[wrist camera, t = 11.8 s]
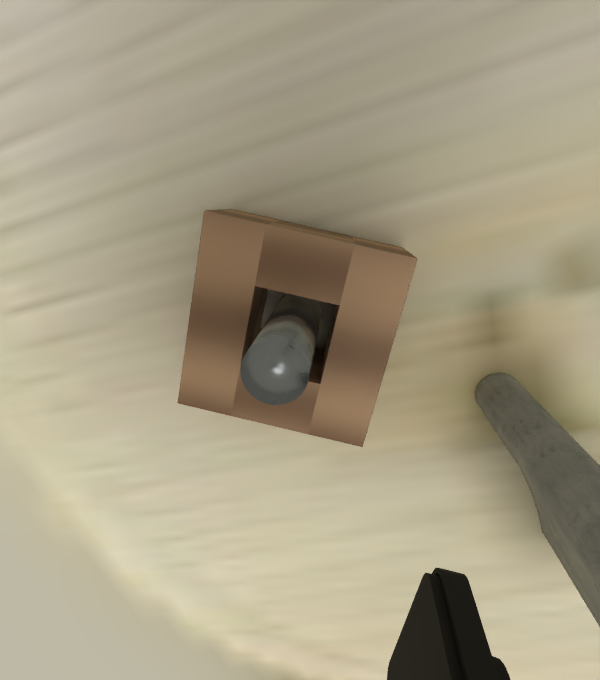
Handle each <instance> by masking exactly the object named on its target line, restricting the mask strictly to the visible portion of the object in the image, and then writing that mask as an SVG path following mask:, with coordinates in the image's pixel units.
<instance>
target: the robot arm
mask: <svg viewBox="0 0 600 680" xmlns="http://www.w3.org/2000/svg"><path fill="white" fill-rule="evenodd" d="M387 680H510V677H509V674H508V672H507V670H506V667H505V665H504V664H503V663H502V661H501V660H500V659H498V658H496V657H493V656H492V655H491V652H490V648H489V645H488V642H487V639H486V636H485V632H484V629H483V626H482V623H481V620H480V616H479V613H478V610H477V607H476V603H475V600H474V597H473V594H472V591H471V587H470V584H469V581H468V579H467V577H466V576H465V575H464V574H461V573H457V572H453V571H449V570H445V569H441V568H435V569H434V571H433V573H432V574H429V573H425V574H424V576H423V578H422V580H421V583H420V585H419V588H418V590H417V593H416V595H415V598H414V601H413V603H412V606H411V608H410V611H409V613H408V616H407V619H406V621H405V624H404V626H403V629H402V631H401V634H400V636H399V639H398V642H397V644H396V647H395V649H394V652H393V654H392V657H391V659H390V662H389V667H388V674H387Z"/></svg>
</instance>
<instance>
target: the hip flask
mask: <svg viewBox="0 0 600 680" xmlns="http://www.w3.org/2000/svg"><path fill="white" fill-rule="evenodd" d="M475 398H476V402H477V404H478V405H479V407H480V408H481V410H482V411H483V413H484V414H485V416H486V417H487V419H488V420H489V422H490V423H491V425H492V426H493V428H494V429H495V431H496V432H497V434H498V435H499V437H500V438H501V440H502V441H503V443H504V444H505V446H506V447H507V449H508V450H509V452H510V453H511V455H512V456H513V458H514V459H515V461H516V462H517V464H518V465H519V467H520V468H521V470H522V472H523V474H524V476H525V479H526V481H527V483H528V485H529V488H530V490H531V493H532V496H533V498H534V501H535V504H536V507H537V511H538V515H539V518H540V523H541V528H542V532H543V534H544V535H545V537H546V539H547V540H548V542H549V544H550V545H551V547H552V549H553V550H554V552H555V554H556V555H557V557H558V558H559V560H560V562H561V563H562V565H563V567H564V568H565V570H566V572H567V573H568V575H569V577H570V578H571V580H572V582H573V583H574V585H575V587H576V588H577V590H578V592H579V593H580V595H581V597H582V598H583V600H584V602H585V603H586V605H587V607H588V608H589V610H590V612H591V613H592V615H593V617H594V618H595V620H596V621H597V623H598V625H599V626H600V465H599V464H598V463H597V462H596V461H595V460H594V459H593V458H592V457H591V456H590V455H589V454H588V453H587V452H586V451H585V450H584V449H583V448H582V447H581V446H580V445H579V444H578V443H577V442H576V441H575V440H574V439H573V438H572V437H571V436H570V435H569V434H568V432H567V431H566V430H565V429H564V428H563V427H562V426H561V425H560V424H559V423H558V422H557V421H556V420H555V419H554V418H553V417H552V416H551V415H550V414H549V413H548V412H547V411H546V410H545V409H544V408H543V407H542V406H541V405H540V404H539V403H538V402H537V401H536V400H535V399H534V398H533V397H532V396H531V394H530V393H529V392H528V391H527V390H526V389H525V388H524V387H523V386H522V385H521V384H520V383H519V382H518V381H517V380H516V379H515V378H514V377H512V376H511V375H508V374H505V373H495V374H491V375H488V376H487V377H485V378H484V379H482V380H481V381H480V383H479V384H478V386H477V388H476V391H475Z"/></svg>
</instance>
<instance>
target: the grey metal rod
mask: <svg viewBox="0 0 600 680" xmlns="http://www.w3.org/2000/svg"><path fill="white" fill-rule="evenodd" d="M320 320H321V306H320V304H319V302H318V300H314V299H309V298H305V297H301V296H296V295H292V294H287V295H285V296H284V297H283V298H282V299H281V301H280V302H279V304H278V305H277V307H276V308H275V310H274V311H273V313H272V314H271V316H270V317H269V319H268V321H267V322H266V324H265V325H264V327H263V328H262V330H261V331H260V333H259V334H258V336H257V337H256V339H255V340H254V342H253V343H252V345H251V347H250V348H249V350H248V351H247V353H246V354H245V356H244V358H243V360H242V363H241V368H240V374H241V379H242V382H243V385H244V387H245V388H246V390H247V391H248V392H249V393H250V394H251V395H252V396H253V397H254V398H255V399H257V400H259V401H261V402H263V403H266V404H270V405H283V404H287V403H290V402H292V401H294V400H295V399H297V398H298V397H299V396H300V395H301V394H302V393H303V392H304V390H305V388H306V386H307V384H308V380H309V375H310V370H311V365H312V360H313V355H314V350H315V345H316V340H317V335H318V330H319V325H320Z"/></svg>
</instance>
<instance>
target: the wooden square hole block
mask: <svg viewBox="0 0 600 680" xmlns="http://www.w3.org/2000/svg"><path fill="white" fill-rule="evenodd" d="M416 262H417V258H416V257H415V256H413V255H412V254H411V253H409V252H408V251H407V250H405V249H404V248H401V247H397V246H392V245H388V244H383V243H379V242H374V241H370V240H365V239H361V238H357V237H352V236H348V235H343V234H339V233H334V232H330V231H325V230H321V229H316V228H312V227H308V226H303V225H299V224H294V223H290V222H285V221H281V220H276V219H272V218H268V217H263V216H259V215H254V214H250V213H245V212H241V211H236V210H232V209H225V210H207V211H204V217H203V224H202V231H201V238H200V246H199V253H198V260H197V267H196V274H195V282H194V289H193V296H192V303H191V310H190V318H189V325H188V332H187V339H186V346H185V354H184V361H183V368H182V375H181V382H180V390H179V397H178V403H179V404H183V405H188V406H192V407H196V408H200V409H205V410H209V411H213V412H217V413H221V414H226V415H230V416H234V417H238V418H242V419H247V420H251V421H255V422H259V423H264V424H268V425H272V426H276V427H280V428H285V429H289V430H293V431H297V432H301V433H306V434H310V435H314V436H318V437H322V438H327V439H331V440H335V441H339V442H344V443H348V444H352V445H356V446H360V447H363V443H364V440H365V436H366V433H367V430H368V426H369V423H370V419H371V416H372V413H373V409H374V406H375V402H376V399H377V395H378V392H379V389H380V385H381V382H382V378H383V375H384V371H385V368H386V365H387V361H388V358H389V354H390V351H391V347H392V344H393V341H394V337H395V334H396V330H397V327H398V323H399V320H400V317H401V313H402V310H403V306H404V303H405V300H406V296H407V293H408V289H409V286H410V282H411V279H412V276H413V272H414V269H415V265H416ZM267 289H270V290H274V291H279V292H283V293H287V294H292V295H296V296H301V297H305V298H309V299H314V300H318V301H322V302H327V303H331V304H336V307H335V311H334V315H333V320H332V324H331V328H330V332H329V336H328V340H327V344H326V348H325V352H320V351H316V350H314V355H313V360H312V365H311V370H310V375H309V380H308V384H307V386H306V388H305V390H304V392H303V393H302V394H301V395H300V396H299V397H298V398H297V399H295V400H294V401H292V402H290V403H287V404H283V405H270V404H266V403H263V402H261V401H259V400H257V399H255V398H254V397H253V396H252V395H251V394H250V393H249V392H248V391H247V390H246V388H245V387H244V385H243V382H242V379H241V374H240V368H241V363H242V360H243V358H244V356H245V354H246V353H247V351H248V350H249V348H250V347H251V345H252V343H253V342H254V340H255V339H256V337H257V336H258V334H259V331H260V326H261V320H262V315H263V310H264V305H265V300H266V294H267Z"/></svg>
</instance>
